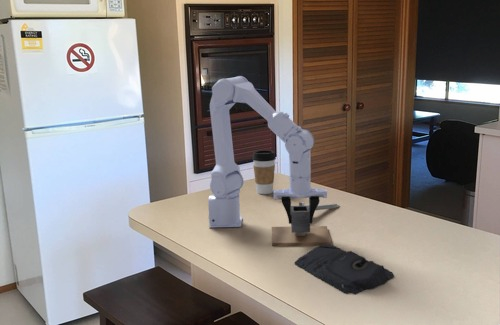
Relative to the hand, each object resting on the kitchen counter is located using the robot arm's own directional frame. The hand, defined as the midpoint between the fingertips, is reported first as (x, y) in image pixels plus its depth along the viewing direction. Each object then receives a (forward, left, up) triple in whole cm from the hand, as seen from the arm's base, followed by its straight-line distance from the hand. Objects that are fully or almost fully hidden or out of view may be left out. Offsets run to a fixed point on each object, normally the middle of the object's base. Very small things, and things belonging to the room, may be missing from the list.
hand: (300, 222), depth 146 cm
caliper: (+7, +19, -5) cm, 21 cm away
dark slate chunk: (+9, -21, -5) cm, 24 cm away
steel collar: (0, 0, -2) cm, 2 cm away
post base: (0, 0, -5) cm, 5 cm away
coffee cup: (-10, +43, -5) cm, 44 cm away
